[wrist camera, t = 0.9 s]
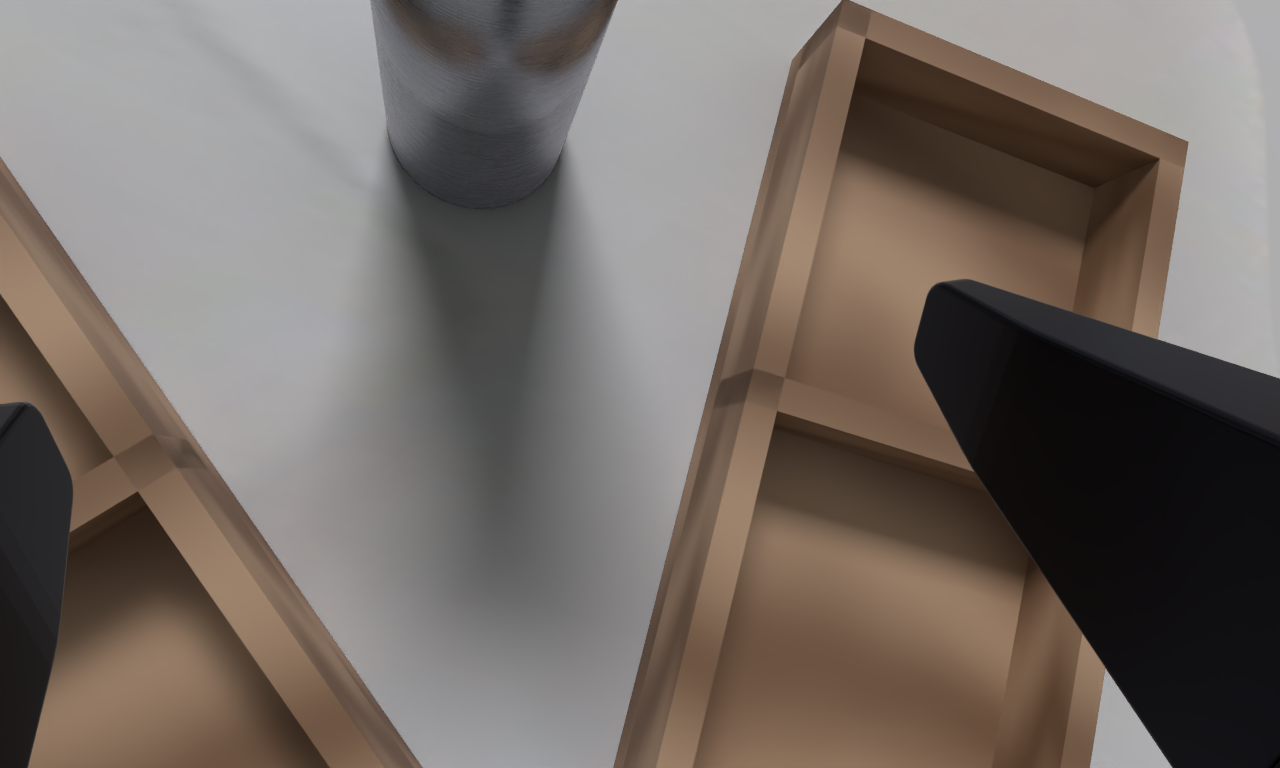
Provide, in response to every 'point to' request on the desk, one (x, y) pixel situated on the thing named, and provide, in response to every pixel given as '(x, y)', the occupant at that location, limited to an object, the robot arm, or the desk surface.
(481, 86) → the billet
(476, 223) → the desk surface
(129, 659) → the brown shallow tray
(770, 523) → the wooden divided tray
